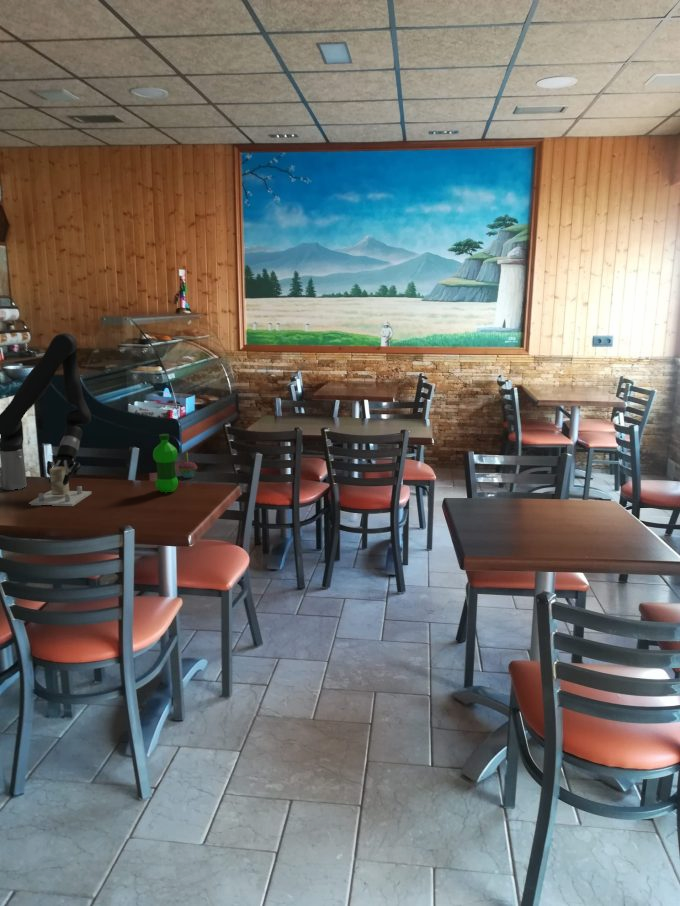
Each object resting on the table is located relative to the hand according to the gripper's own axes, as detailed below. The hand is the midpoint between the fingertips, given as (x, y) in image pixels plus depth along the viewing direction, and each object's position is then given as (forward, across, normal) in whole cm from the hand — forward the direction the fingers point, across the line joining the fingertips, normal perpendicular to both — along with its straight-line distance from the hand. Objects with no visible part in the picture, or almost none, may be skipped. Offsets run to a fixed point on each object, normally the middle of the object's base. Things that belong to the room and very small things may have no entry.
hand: (57, 483), depth 279 cm
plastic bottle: (-7, +40, +17) cm, 44 cm away
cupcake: (-24, +42, +35) cm, 60 cm away
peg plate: (+4, 0, +6) cm, 7 cm away
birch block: (+2, 0, +5) cm, 5 cm away
